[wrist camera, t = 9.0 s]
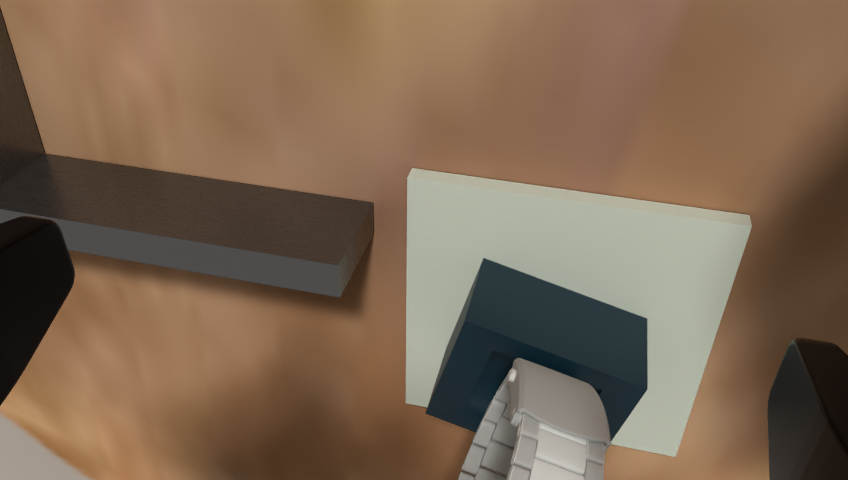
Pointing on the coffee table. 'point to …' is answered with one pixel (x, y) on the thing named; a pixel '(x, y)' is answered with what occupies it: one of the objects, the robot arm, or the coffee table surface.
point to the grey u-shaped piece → (176, 210)
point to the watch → (539, 377)
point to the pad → (575, 276)
